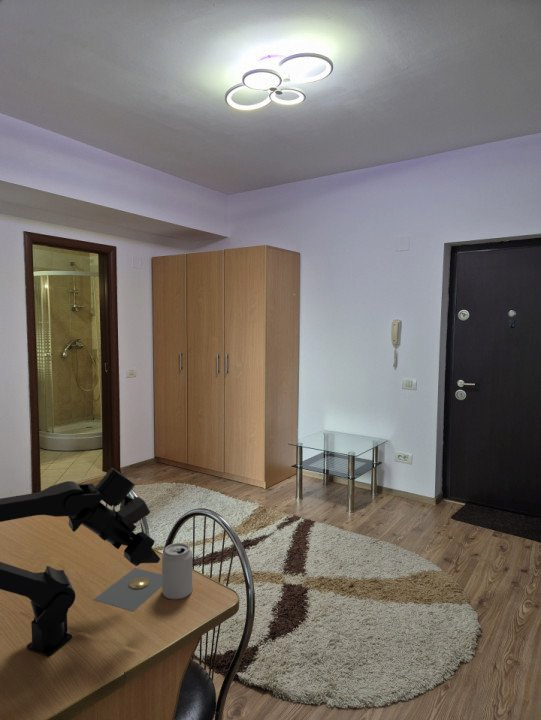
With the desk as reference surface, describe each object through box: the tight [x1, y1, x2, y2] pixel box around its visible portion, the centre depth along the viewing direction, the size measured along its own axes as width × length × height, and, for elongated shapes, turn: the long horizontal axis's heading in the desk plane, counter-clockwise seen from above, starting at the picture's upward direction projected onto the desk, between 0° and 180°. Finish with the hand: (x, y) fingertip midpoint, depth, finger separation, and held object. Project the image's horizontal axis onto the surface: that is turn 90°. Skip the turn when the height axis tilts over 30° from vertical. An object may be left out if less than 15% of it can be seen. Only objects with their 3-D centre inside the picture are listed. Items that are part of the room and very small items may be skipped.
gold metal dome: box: [129, 577, 149, 589], centre depth 122 cm, size 5×5×1 cm
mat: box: [93, 567, 162, 612], centre depth 120 cm, size 16×12×1 cm
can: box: [161, 542, 194, 600], centre depth 119 cm, size 8×8×12 cm
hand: (150, 553), depth 113 cm, fingers open, 9 cm apart
